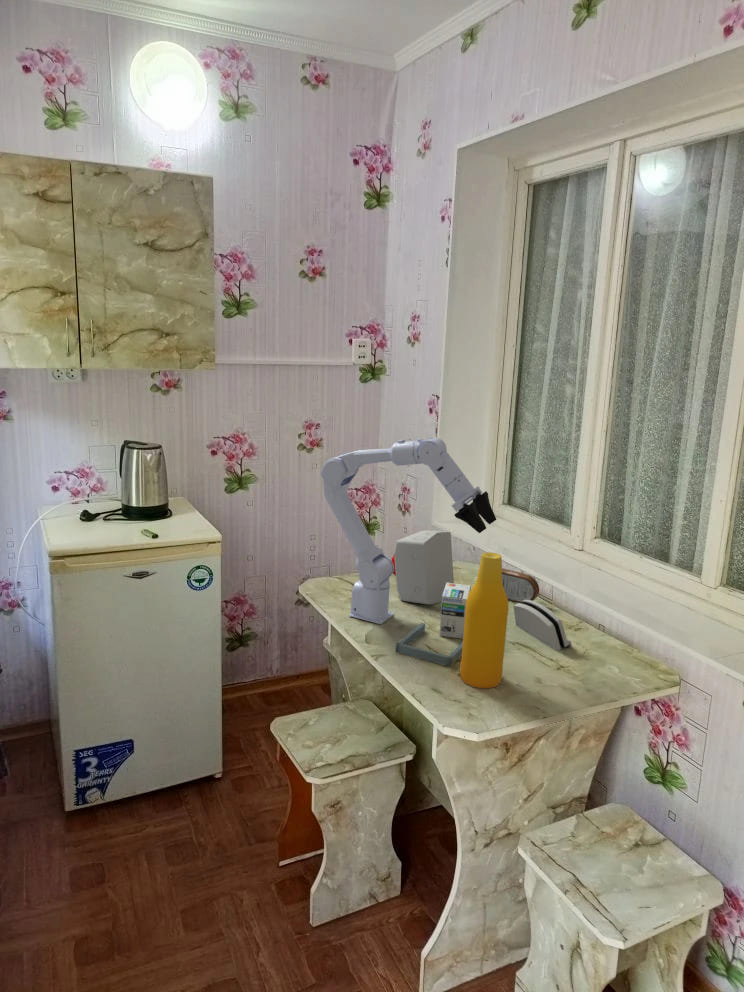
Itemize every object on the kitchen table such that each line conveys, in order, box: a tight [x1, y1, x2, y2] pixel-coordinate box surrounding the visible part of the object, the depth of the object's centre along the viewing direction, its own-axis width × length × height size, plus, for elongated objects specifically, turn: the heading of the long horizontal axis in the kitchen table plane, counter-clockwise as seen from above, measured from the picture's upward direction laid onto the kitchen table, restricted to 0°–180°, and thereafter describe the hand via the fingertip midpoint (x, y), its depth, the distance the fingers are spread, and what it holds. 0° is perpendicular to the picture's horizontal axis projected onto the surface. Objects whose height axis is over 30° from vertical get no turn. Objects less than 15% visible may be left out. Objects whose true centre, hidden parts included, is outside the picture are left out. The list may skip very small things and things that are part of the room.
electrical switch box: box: [391, 529, 455, 605], centre depth 215 cm, size 14×15×20 cm
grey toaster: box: [513, 600, 573, 652], centre depth 192 cm, size 17×5×10 cm, turn 27°
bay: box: [395, 622, 463, 667], centre depth 183 cm, size 14×15×2 cm
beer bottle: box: [459, 551, 509, 689], centre depth 165 cm, size 9×9×29 cm
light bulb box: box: [439, 583, 472, 640], centre depth 193 cm, size 11×7×11 cm, turn 168°
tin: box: [502, 567, 540, 603], centre depth 216 cm, size 15×3×8 cm, turn 58°
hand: (488, 526), depth 182 cm, fingers open, 7 cm apart
